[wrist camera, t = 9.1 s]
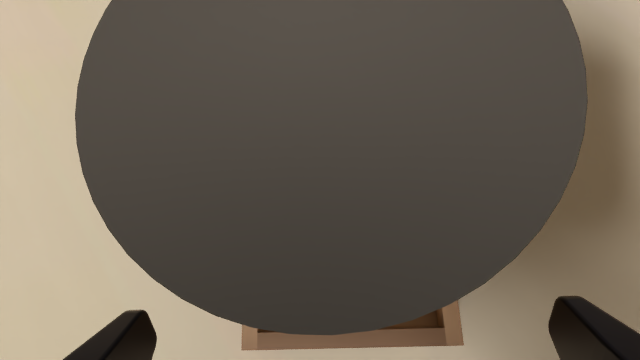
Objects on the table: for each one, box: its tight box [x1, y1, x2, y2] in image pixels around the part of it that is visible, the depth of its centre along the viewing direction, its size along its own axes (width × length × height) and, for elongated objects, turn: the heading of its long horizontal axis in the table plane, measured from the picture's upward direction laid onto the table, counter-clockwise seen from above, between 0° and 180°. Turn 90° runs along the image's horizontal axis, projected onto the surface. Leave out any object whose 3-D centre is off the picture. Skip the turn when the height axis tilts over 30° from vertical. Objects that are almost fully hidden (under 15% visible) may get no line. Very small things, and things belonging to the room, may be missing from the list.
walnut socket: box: [242, 300, 464, 350], centre depth 15 cm, size 8×8×2 cm
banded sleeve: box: [75, 0, 587, 335], centre depth 9 cm, size 5×5×13 cm
